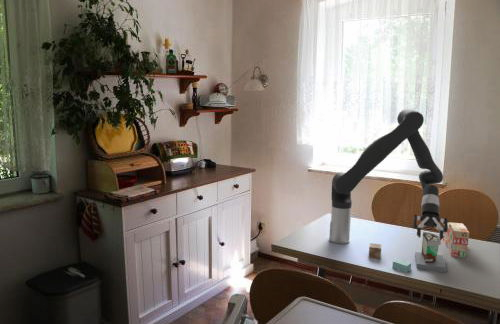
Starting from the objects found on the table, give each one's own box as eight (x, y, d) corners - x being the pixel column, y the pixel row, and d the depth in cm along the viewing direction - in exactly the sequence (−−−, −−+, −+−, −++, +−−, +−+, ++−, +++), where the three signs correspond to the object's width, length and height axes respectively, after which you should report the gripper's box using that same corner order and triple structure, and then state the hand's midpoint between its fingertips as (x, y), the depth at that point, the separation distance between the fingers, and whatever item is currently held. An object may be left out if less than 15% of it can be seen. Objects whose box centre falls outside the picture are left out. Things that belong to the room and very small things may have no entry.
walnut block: (368, 257, 182) (369, 246, 181) (369, 253, 186) (369, 243, 186) (380, 259, 180) (381, 248, 179) (380, 255, 185) (381, 244, 184)
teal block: (392, 268, 172) (392, 261, 171) (396, 265, 175) (397, 258, 174) (406, 272, 168) (406, 266, 167) (410, 270, 170) (411, 263, 170)
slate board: (416, 268, 172) (417, 263, 171) (414, 255, 185) (415, 251, 184) (445, 272, 168) (446, 267, 168) (441, 259, 181) (442, 255, 181)
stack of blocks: (442, 240, 205) (445, 216, 203) (456, 241, 204) (458, 217, 202) (451, 256, 185) (454, 230, 183) (466, 258, 184) (469, 231, 181)
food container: (441, 265, 170) (444, 242, 168) (425, 264, 171) (428, 241, 169) (435, 254, 181) (438, 232, 180) (420, 253, 183) (422, 231, 181)
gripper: (414, 200, 191) (413, 232, 182) (448, 203, 186) (449, 236, 177) (413, 208, 196) (412, 239, 188) (446, 212, 192) (446, 244, 183)
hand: (430, 238), depth 183 cm, fingers open, 8 cm apart
